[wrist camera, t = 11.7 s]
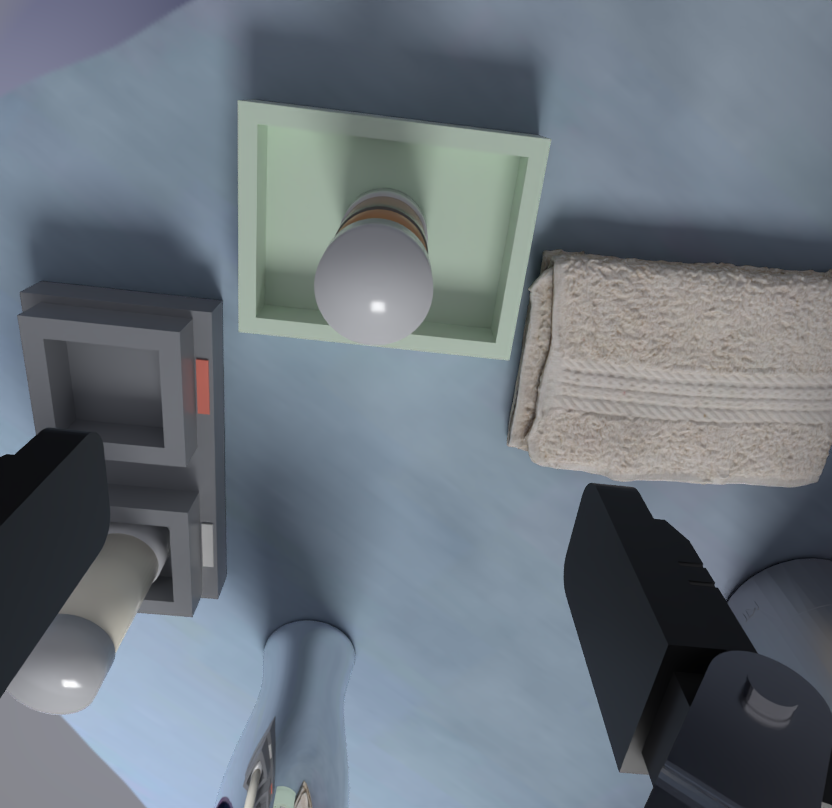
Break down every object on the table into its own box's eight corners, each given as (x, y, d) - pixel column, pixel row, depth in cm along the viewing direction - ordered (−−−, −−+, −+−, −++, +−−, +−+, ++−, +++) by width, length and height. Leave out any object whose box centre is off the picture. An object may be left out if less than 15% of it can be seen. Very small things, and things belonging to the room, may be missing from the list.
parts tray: (539, 135, 30) (551, 139, 27) (501, 339, 34) (509, 360, 32) (253, 99, 29) (237, 100, 26) (252, 313, 33) (238, 332, 31)
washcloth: (526, 242, 32) (537, 256, 30) (877, 264, 33) (920, 279, 30) (498, 449, 38) (505, 478, 35) (802, 464, 38) (833, 494, 35)
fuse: (170, 513, 36) (91, 652, 27) (174, 569, 38) (100, 717, 29) (97, 506, 36) (-7, 644, 27) (104, 563, 38) (8, 711, 29)
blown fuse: (431, 193, 30) (440, 236, 21) (421, 277, 32) (425, 351, 23) (345, 182, 30) (317, 222, 21) (339, 268, 32) (311, 338, 23)
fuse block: (222, 300, 33) (199, 326, 30) (226, 576, 41) (208, 623, 37) (41, 280, 33) (-5, 304, 29) (80, 564, 40) (47, 610, 37)
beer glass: (273, 602, 42) (207, 847, 28) (375, 629, 43) (360, 878, 29) (247, 675, 45) (176, 929, 31) (343, 699, 46) (316, 955, 32)
